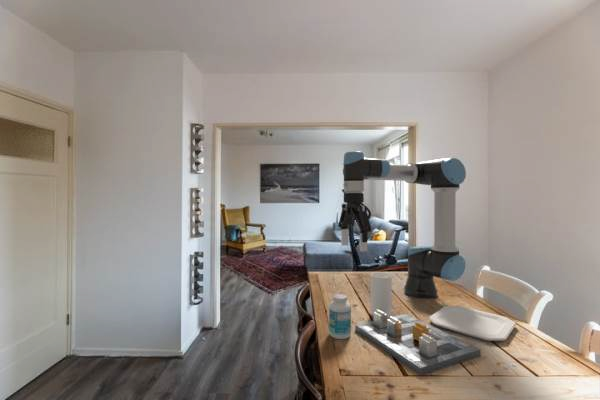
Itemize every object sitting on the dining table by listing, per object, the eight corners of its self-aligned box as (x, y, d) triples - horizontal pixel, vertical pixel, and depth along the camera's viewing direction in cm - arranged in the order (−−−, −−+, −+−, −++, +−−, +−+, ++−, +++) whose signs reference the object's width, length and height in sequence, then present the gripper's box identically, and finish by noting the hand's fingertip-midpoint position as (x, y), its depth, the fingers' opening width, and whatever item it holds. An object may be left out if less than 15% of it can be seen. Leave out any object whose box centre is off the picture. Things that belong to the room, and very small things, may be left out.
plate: (448, 308, 130) (448, 303, 130) (518, 325, 112) (518, 319, 112) (424, 325, 112) (424, 319, 112) (502, 349, 95) (502, 342, 94)
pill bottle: (327, 330, 107) (327, 292, 107) (347, 330, 108) (347, 292, 108) (331, 340, 100) (331, 300, 100) (353, 339, 100) (353, 299, 100)
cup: (392, 319, 117) (392, 278, 117) (370, 317, 119) (370, 276, 119) (390, 311, 125) (390, 272, 125) (370, 309, 127) (370, 271, 127)
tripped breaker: (419, 335, 98) (419, 321, 98) (428, 340, 95) (428, 325, 94) (412, 337, 97) (412, 322, 97) (421, 342, 93) (421, 327, 93)
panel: (406, 318, 117) (406, 300, 117) (480, 355, 90) (480, 331, 90) (355, 330, 108) (355, 310, 107) (420, 375, 80) (420, 348, 80)
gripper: (330, 192, 125) (330, 243, 126) (363, 191, 102) (363, 254, 102) (346, 193, 128) (346, 242, 128) (381, 192, 105) (381, 253, 105)
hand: (353, 248), depth 115 cm, fingers open, 13 cm apart
